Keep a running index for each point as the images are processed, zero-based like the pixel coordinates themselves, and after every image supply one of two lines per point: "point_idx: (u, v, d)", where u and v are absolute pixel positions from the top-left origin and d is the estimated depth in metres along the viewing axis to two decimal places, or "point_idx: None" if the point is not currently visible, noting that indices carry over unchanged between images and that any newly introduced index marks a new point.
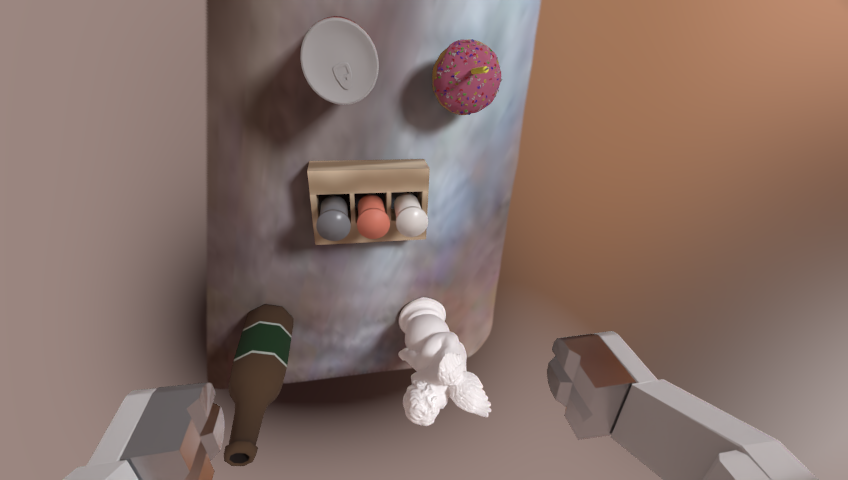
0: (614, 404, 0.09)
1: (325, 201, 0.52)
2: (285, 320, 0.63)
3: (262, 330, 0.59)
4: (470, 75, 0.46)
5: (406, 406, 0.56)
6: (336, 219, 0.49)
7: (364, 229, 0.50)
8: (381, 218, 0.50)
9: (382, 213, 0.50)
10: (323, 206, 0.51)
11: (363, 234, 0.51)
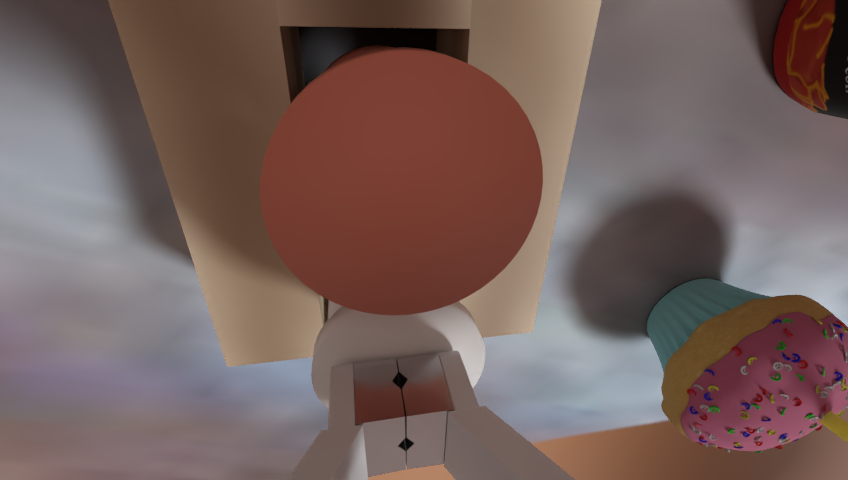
0: (436, 432, 0.08)
1: None
2: None
3: None
4: (822, 413, 0.16)
5: None
6: None
7: (362, 127, 0.05)
8: (459, 258, 0.07)
9: (499, 262, 0.07)
10: None
11: (304, 117, 0.05)
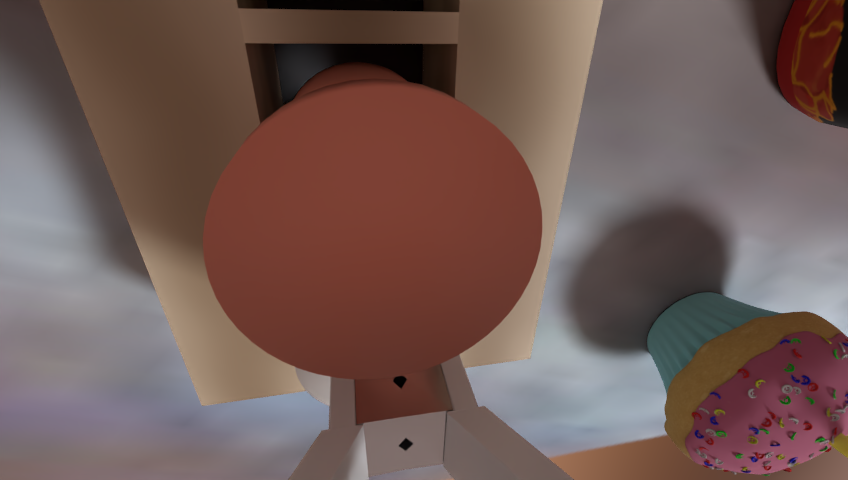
0: (435, 432, 0.08)
1: None
2: None
3: None
4: (832, 435, 0.16)
5: None
6: None
7: (325, 177, 0.04)
8: (447, 316, 0.06)
9: (493, 317, 0.06)
10: None
11: (253, 167, 0.04)
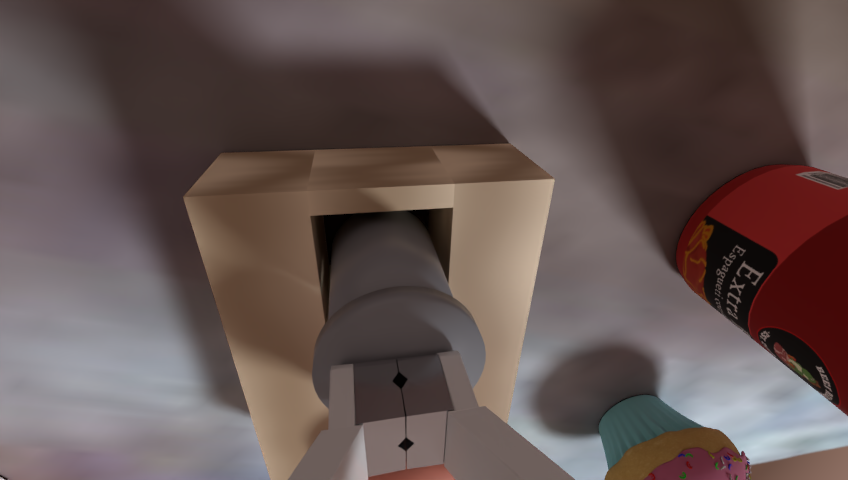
0: (436, 432, 0.08)
1: (430, 241, 0.13)
2: None
3: None
4: None
5: None
6: None
7: None
8: None
9: None
10: (430, 252, 0.12)
11: None
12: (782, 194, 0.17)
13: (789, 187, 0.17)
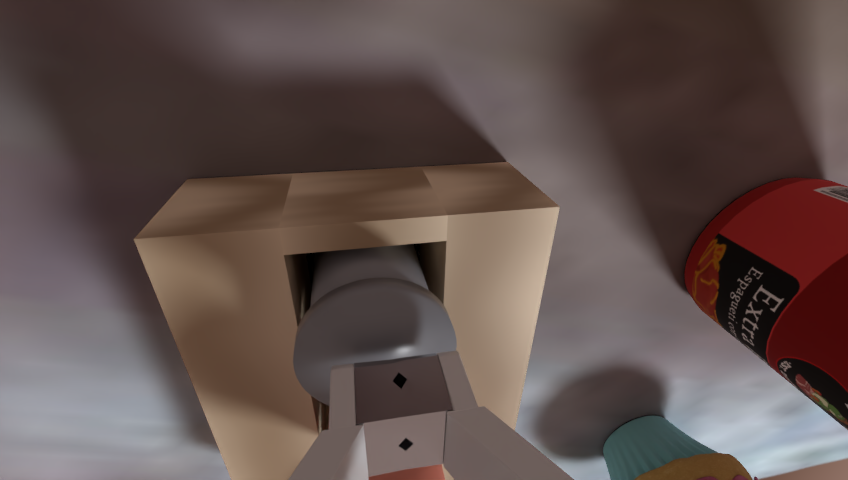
0: (435, 432, 0.08)
1: None
2: None
3: None
4: None
5: None
6: None
7: None
8: None
9: None
10: (407, 247, 0.13)
11: None
12: (800, 211, 0.15)
13: (808, 204, 0.16)
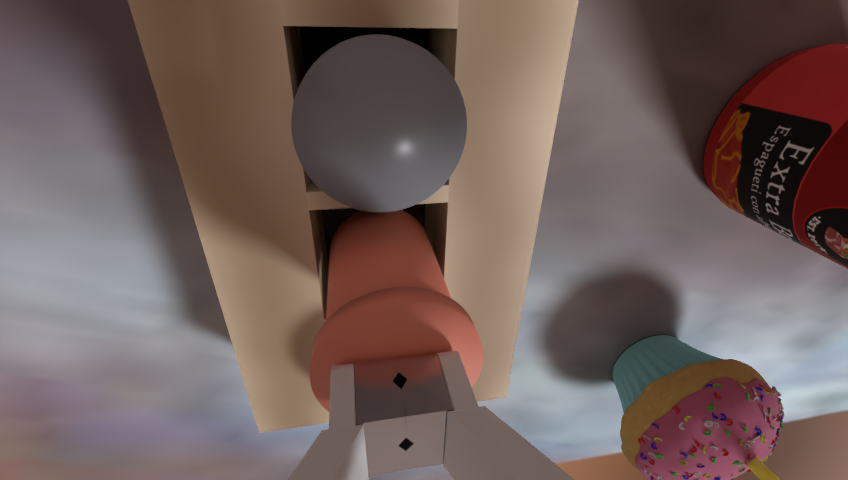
0: (435, 432, 0.08)
1: None
2: None
3: None
4: (748, 459, 0.20)
5: None
6: (422, 149, 0.10)
7: (371, 338, 0.09)
8: None
9: None
10: None
11: (337, 337, 0.09)
12: (831, 64, 0.15)
13: (840, 57, 0.15)
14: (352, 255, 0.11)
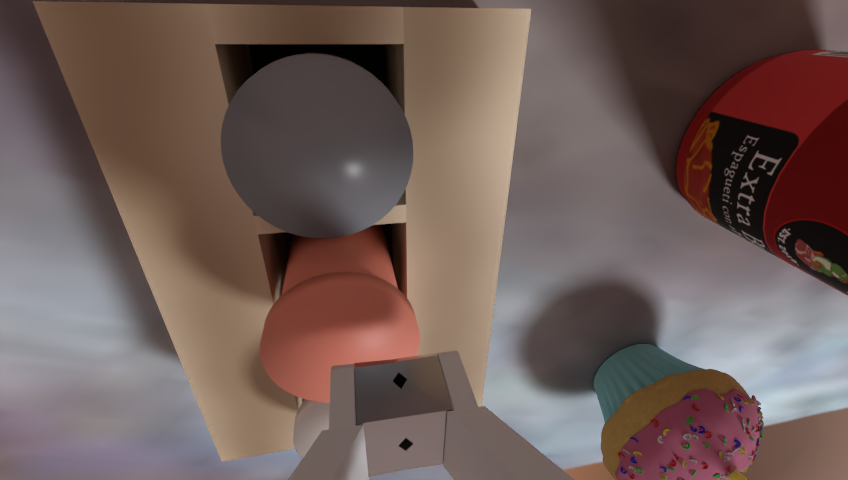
0: (435, 432, 0.08)
1: None
2: None
3: None
4: (728, 471, 0.19)
5: None
6: (366, 172, 0.09)
7: (313, 318, 0.10)
8: None
9: None
10: None
11: (282, 317, 0.10)
12: (799, 72, 0.14)
13: (807, 65, 0.14)
14: (305, 247, 0.12)
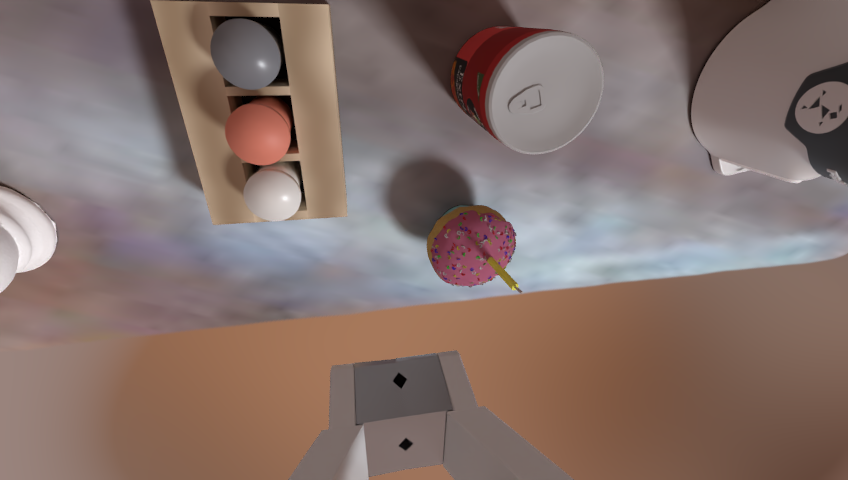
0: (435, 432, 0.08)
1: (277, 36, 0.29)
2: None
3: None
4: (486, 257, 0.36)
5: None
6: (262, 62, 0.26)
7: (244, 119, 0.27)
8: (273, 150, 0.28)
9: (283, 151, 0.28)
10: (270, 32, 0.28)
11: (232, 117, 0.26)
12: (481, 35, 0.31)
13: (485, 32, 0.31)
14: None
